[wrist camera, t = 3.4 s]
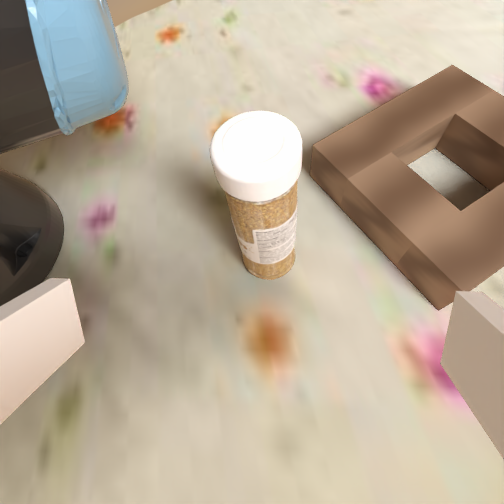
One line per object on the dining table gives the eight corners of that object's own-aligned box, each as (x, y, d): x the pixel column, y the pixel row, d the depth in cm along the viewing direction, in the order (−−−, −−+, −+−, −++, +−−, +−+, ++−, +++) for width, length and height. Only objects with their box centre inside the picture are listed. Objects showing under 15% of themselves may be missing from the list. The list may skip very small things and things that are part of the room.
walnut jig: (309, 175, 30) (312, 144, 27) (434, 101, 33) (452, 64, 29) (438, 310, 24) (465, 294, 20) (582, 205, 26) (630, 174, 22)
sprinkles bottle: (238, 241, 28) (199, 119, 16) (287, 228, 28) (286, 96, 16) (250, 288, 26) (218, 189, 14) (303, 273, 26) (317, 162, 14)
